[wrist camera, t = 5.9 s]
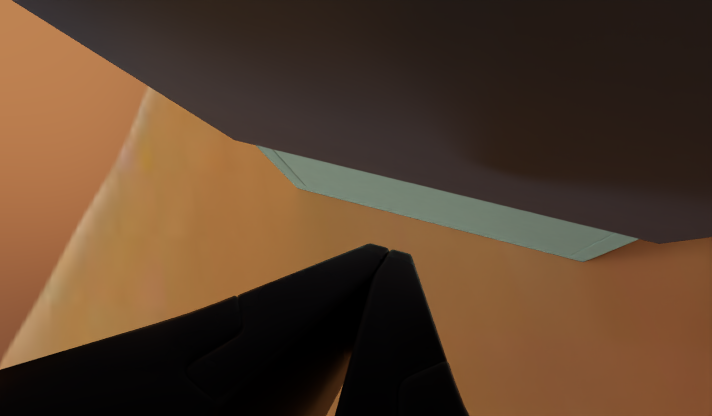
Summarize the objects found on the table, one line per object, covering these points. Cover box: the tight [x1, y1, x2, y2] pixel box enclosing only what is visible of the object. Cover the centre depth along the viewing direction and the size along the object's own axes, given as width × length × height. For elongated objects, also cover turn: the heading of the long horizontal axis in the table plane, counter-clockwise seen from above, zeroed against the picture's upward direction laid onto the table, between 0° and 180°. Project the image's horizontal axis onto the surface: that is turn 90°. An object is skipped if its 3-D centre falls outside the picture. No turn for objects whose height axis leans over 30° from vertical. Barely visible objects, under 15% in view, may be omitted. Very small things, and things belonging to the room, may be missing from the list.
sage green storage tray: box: [256, 145, 638, 262], centre depth 19 cm, size 12×12×7 cm
